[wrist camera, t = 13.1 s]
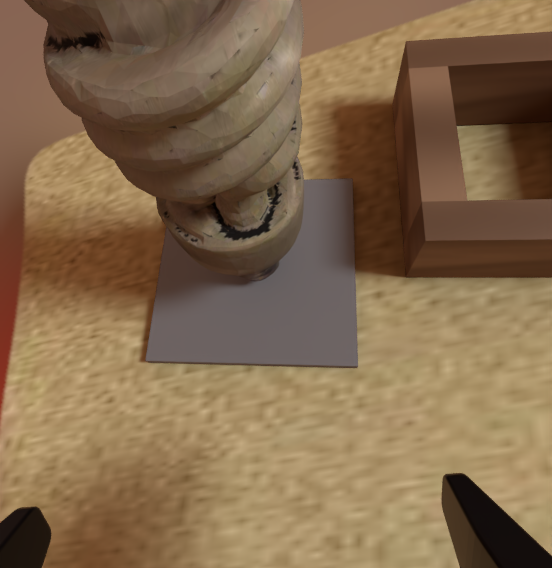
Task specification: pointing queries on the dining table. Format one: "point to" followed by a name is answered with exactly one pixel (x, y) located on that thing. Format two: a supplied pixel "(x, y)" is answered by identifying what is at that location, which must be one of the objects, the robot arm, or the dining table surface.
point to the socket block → (447, 159)
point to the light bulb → (193, 114)
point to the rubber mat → (266, 298)
